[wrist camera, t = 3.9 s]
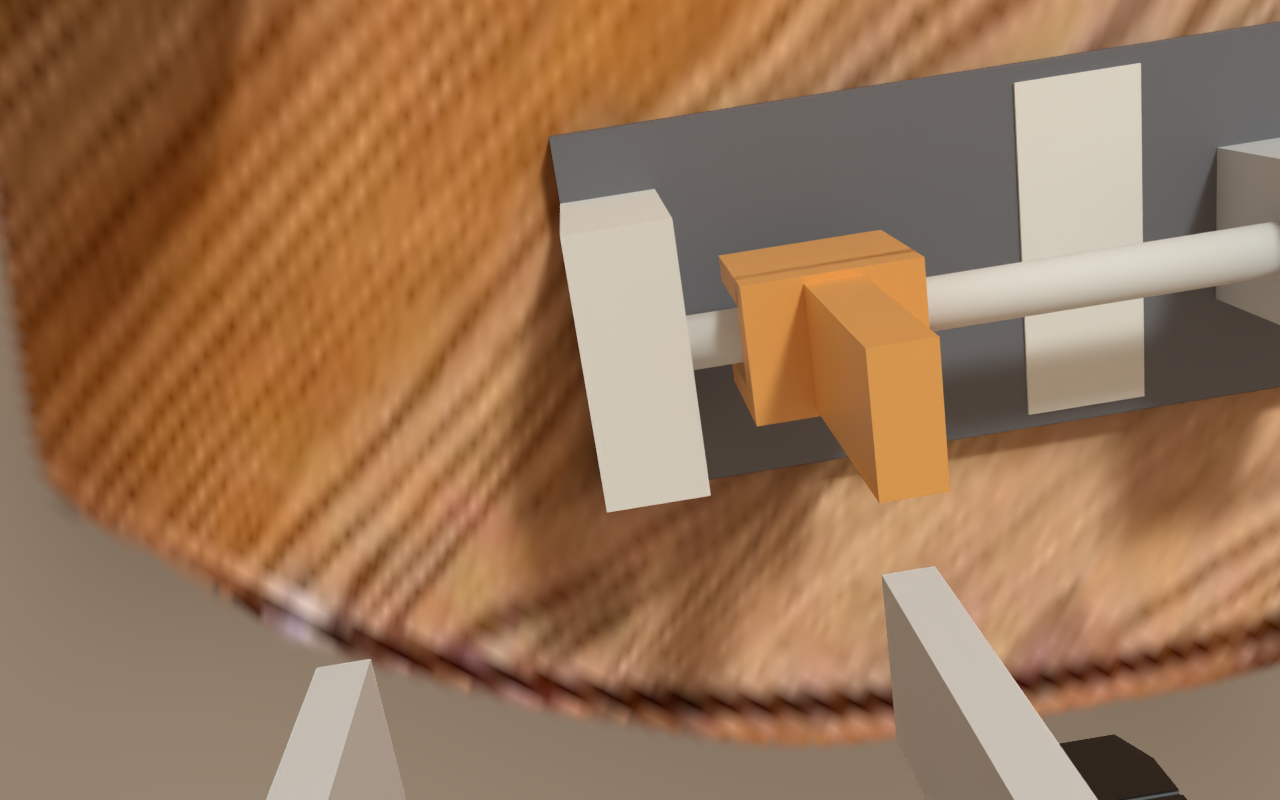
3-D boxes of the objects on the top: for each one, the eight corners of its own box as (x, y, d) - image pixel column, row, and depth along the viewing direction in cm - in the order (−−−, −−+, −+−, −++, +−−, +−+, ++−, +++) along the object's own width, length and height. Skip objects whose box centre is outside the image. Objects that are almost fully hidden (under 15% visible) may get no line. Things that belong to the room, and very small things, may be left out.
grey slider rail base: (608, 484, 40) (618, 583, 33) (549, 136, 36) (546, 162, 29) (1338, 366, 41) (1504, 438, 33) (1354, 9, 37) (1544, 4, 30)
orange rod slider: (734, 380, 36) (805, 523, 26) (718, 255, 35) (785, 352, 24) (891, 355, 36) (1025, 487, 26) (881, 229, 35) (1017, 314, 24)
